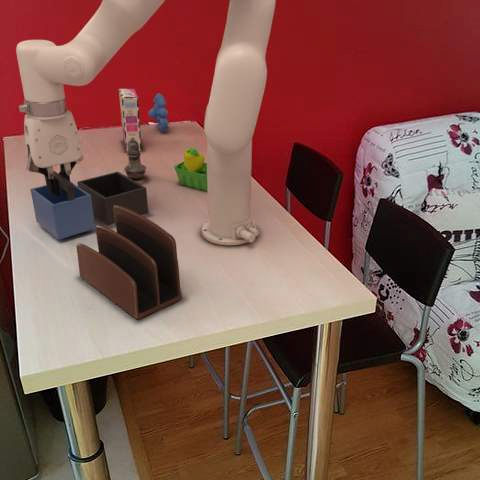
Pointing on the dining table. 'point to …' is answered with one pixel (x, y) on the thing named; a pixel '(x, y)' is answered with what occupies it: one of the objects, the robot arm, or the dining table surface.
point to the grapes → (160, 112)
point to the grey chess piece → (134, 161)
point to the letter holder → (133, 264)
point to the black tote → (114, 195)
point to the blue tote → (63, 209)
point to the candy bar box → (130, 116)
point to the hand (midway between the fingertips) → (60, 192)
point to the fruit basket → (192, 170)
